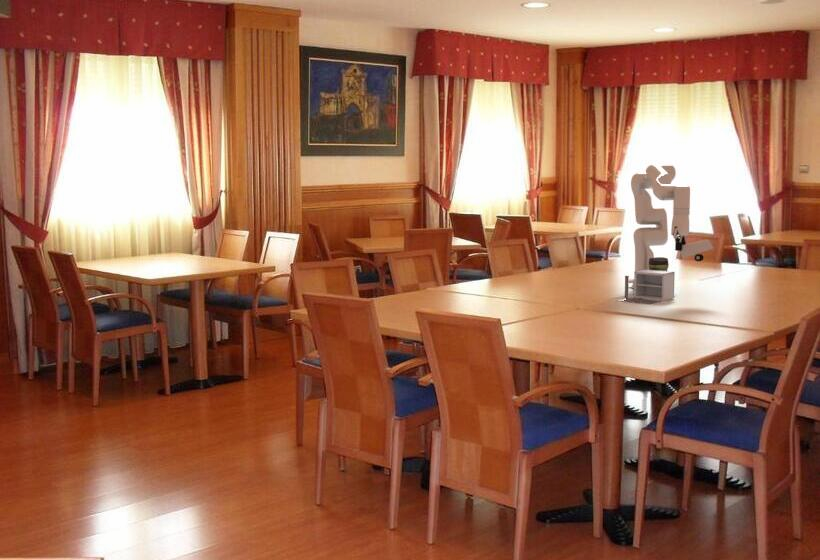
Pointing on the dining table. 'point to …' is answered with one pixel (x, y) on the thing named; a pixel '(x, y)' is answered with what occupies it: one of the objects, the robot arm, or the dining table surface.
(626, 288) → the grey l-shaped piece
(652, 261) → the coffee jar
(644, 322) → the dining table surface
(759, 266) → the dining table surface
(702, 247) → the grey plank with wheel
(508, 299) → the dining table surface
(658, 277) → the cabinet
